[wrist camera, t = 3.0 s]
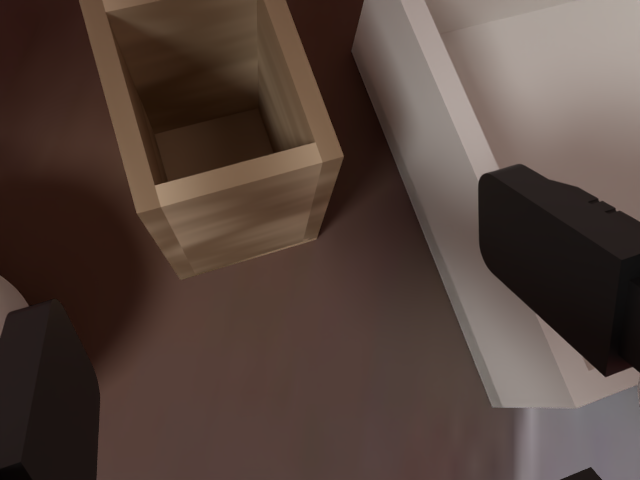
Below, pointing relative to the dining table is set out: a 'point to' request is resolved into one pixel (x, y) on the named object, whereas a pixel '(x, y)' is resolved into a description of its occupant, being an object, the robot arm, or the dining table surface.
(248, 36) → the small wooden crate
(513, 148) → the big plastic crate
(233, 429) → the dining table surface
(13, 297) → the teacup
